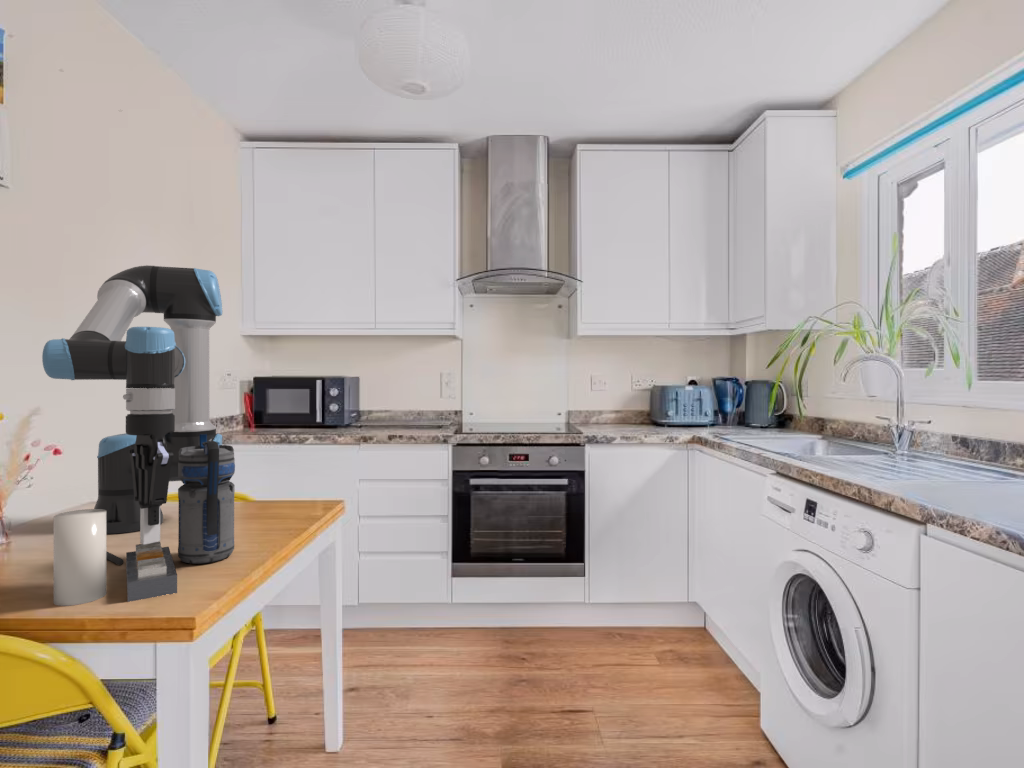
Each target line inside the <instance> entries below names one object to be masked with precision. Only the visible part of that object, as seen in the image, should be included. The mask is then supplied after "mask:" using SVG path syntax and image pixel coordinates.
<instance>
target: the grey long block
mask: <svg viewBox="0 0 1024 768" xmlns="http://www.w3.org/2000/svg"><path fill="white" fill-rule="evenodd" d="M161 544H162V543H161V540H160V541H159V542H154V543H149V544H141V543H139V544H135V550H134V551H128V552H126V555H125V556H126V557H125V558H126V561H125V563H126V564H125V568H126V569H125V570H126V571H125V572H126V594H127V597H126V598H127V603H130V601H131V602H134V601H140V600H141V599H142V600H146V599H147V600H148V599H151V598H152V597H153V598H158V597H163V596H162V595H164V596H167V595H166V594H169V595H174V594H173V593H175V594H178V573H177V570H176V566H175V563H174V559H173V557H172V554H171V549H170V546H163V547H162V545H161ZM157 596H158V597H157Z"/></svg>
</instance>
